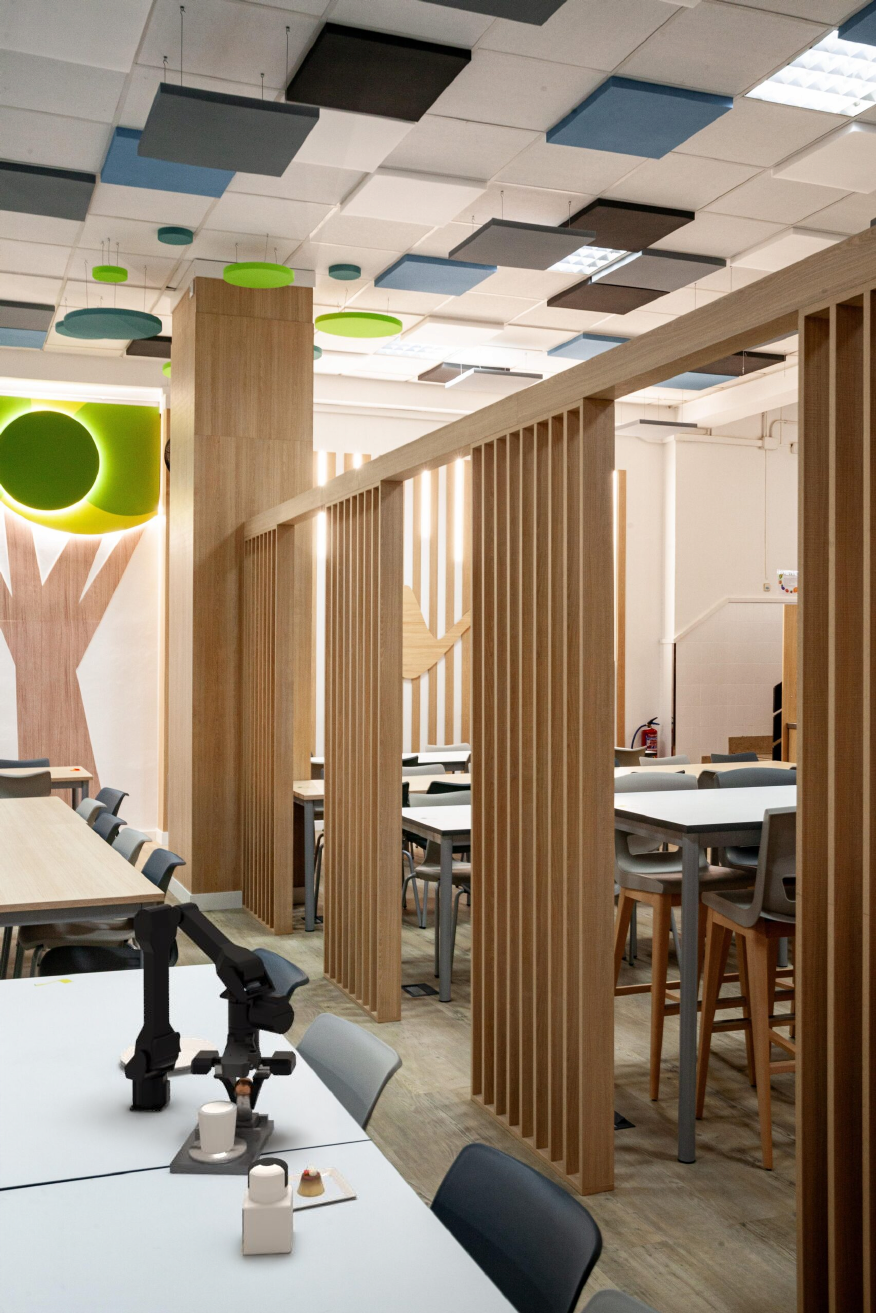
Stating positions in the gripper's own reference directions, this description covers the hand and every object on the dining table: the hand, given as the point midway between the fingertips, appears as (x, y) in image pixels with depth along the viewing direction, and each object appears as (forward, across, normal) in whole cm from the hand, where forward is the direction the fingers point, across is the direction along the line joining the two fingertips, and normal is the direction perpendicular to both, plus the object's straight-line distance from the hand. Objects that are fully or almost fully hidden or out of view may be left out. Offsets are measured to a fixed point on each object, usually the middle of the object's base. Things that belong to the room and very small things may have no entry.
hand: (244, 1108), depth 211 cm
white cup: (+3, -2, -10) cm, 11 cm away
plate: (+5, -26, +40) cm, 48 cm away
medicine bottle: (+5, +13, -39) cm, 41 cm away
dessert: (+6, +16, -22) cm, 28 cm away
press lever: (+3, 0, 0) cm, 3 cm away
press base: (+5, -2, -6) cm, 8 cm away
